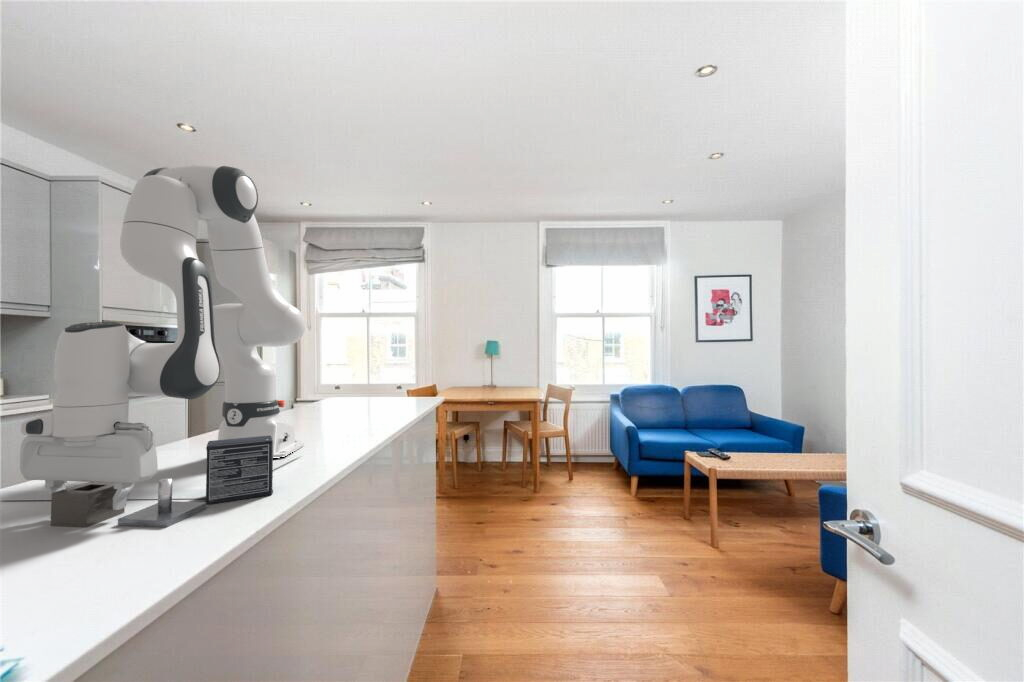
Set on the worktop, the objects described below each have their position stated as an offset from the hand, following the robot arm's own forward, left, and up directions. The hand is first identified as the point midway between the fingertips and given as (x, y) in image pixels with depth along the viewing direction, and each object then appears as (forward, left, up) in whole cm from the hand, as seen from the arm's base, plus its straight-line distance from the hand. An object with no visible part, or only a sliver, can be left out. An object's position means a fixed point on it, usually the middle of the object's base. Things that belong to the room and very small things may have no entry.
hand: (89, 507), depth 69 cm
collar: (0, 0, -2) cm, 2 cm away
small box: (-13, +16, -2) cm, 21 cm away
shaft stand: (-2, +11, -2) cm, 11 cm away
